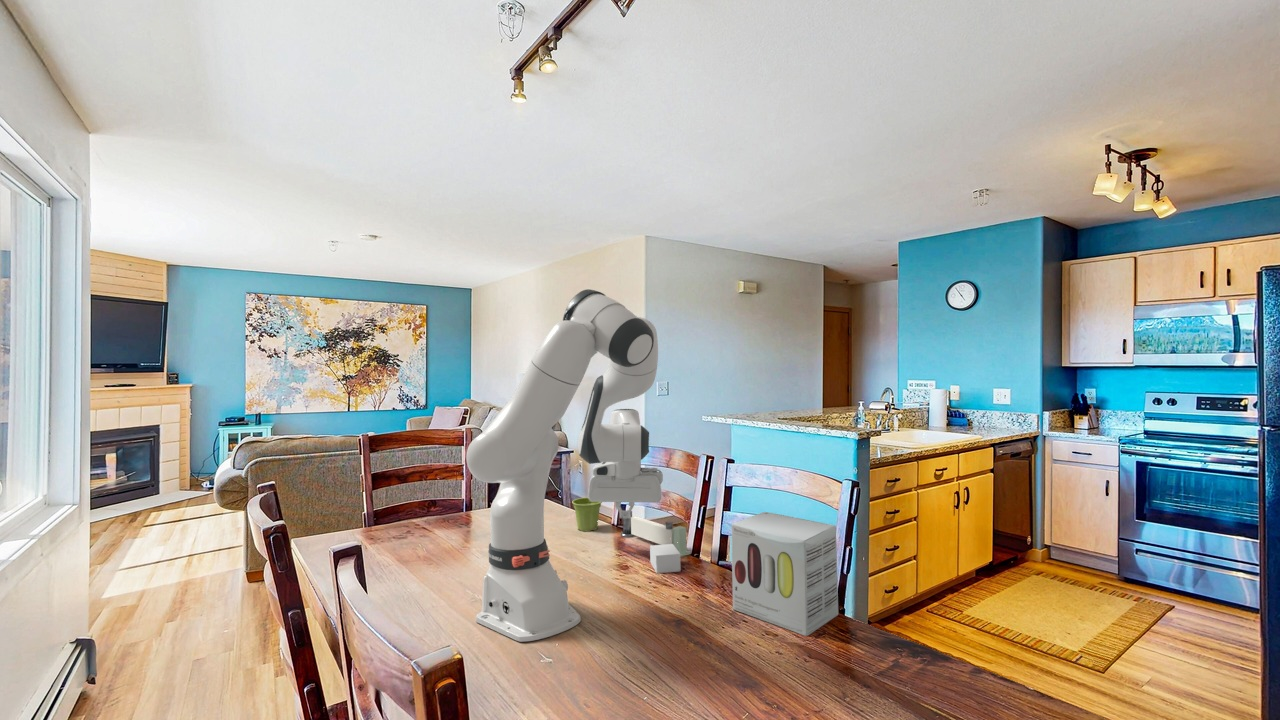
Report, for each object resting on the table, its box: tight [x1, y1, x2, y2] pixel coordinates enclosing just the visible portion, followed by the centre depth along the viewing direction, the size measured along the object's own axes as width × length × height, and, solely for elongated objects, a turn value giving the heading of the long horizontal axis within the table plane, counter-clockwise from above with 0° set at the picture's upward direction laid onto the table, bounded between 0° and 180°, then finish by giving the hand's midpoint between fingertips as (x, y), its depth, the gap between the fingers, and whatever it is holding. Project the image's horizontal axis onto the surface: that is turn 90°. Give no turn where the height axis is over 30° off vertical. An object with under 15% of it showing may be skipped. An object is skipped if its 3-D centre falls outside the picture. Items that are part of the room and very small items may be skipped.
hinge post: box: [620, 509, 636, 538], centre depth 174 cm, size 4×4×7 cm
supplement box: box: [731, 511, 839, 637], centre depth 118 cm, size 17×13×18 cm
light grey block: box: [649, 544, 682, 574], centre depth 147 cm, size 8×6×4 cm
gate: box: [631, 516, 674, 545], centre depth 165 cm, size 18×2×6 cm, turn 38°
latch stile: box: [673, 525, 692, 558], centre depth 157 cm, size 6×4×7 cm
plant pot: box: [571, 497, 603, 532], centre depth 182 cm, size 9×9×9 cm
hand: (625, 517), depth 160 cm, fingers closed
